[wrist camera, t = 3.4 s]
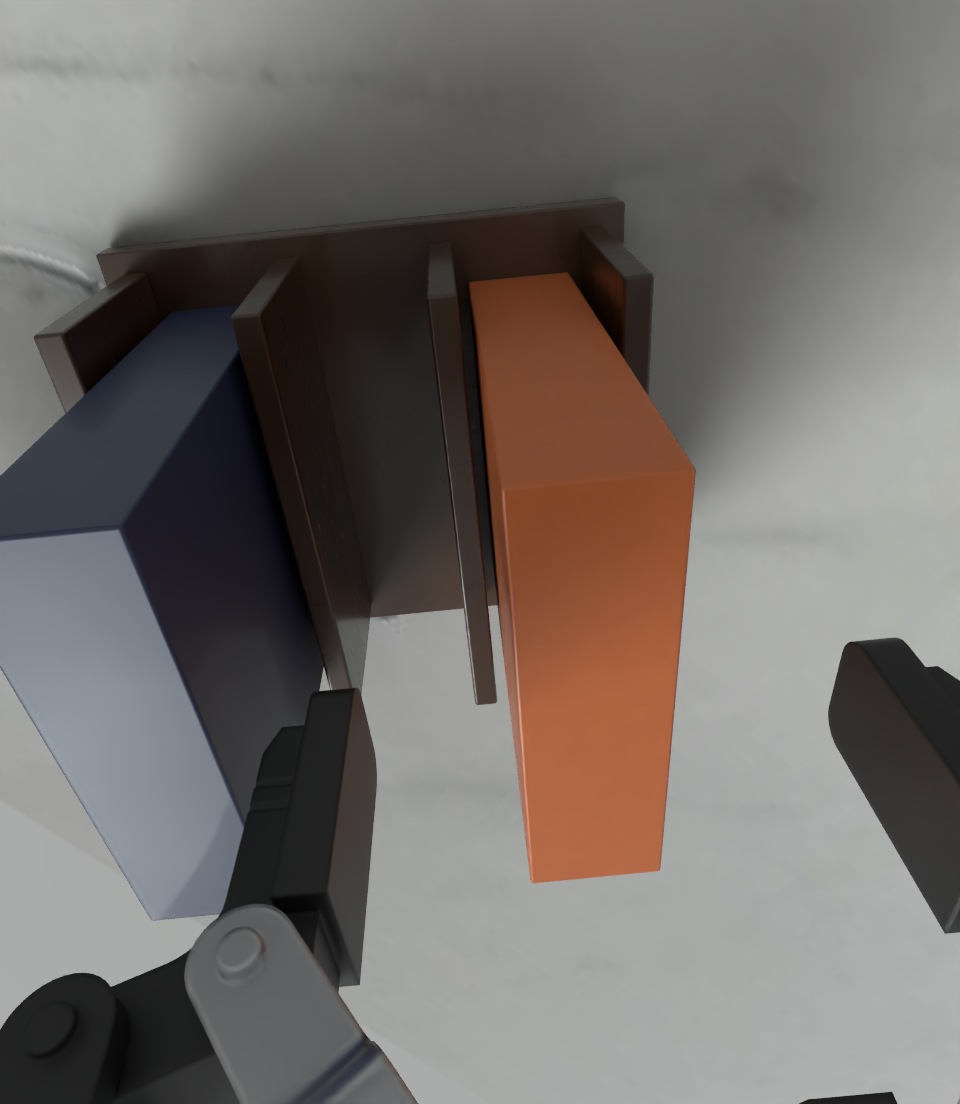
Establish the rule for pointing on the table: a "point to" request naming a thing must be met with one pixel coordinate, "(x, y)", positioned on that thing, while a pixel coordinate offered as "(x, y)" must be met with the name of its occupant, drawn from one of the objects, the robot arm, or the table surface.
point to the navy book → (158, 608)
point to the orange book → (581, 574)
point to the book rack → (367, 387)
